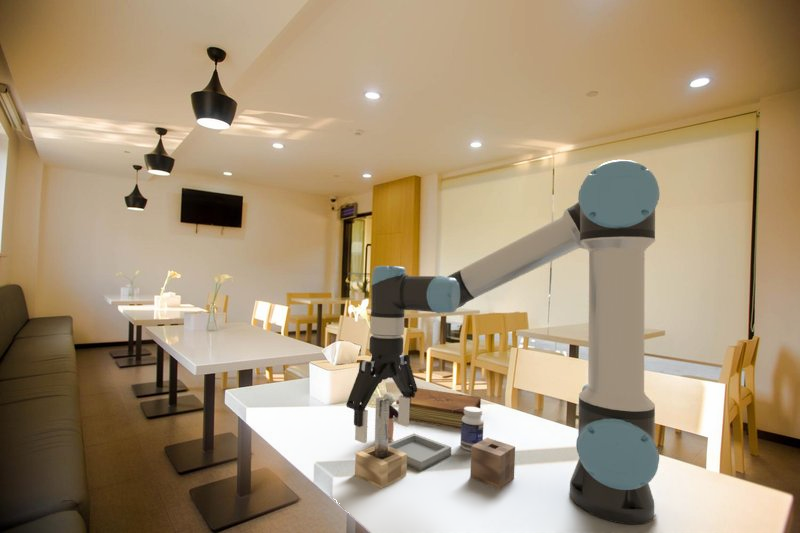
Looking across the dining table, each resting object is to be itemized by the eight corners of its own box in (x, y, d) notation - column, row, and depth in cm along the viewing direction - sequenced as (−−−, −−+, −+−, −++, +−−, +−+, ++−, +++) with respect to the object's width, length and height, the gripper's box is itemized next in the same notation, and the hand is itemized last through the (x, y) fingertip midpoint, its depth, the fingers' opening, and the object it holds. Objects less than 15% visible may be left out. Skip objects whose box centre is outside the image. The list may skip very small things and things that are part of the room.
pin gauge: (390, 472, 90) (392, 399, 91) (381, 477, 88) (382, 401, 89) (380, 468, 92) (382, 396, 93) (371, 472, 90) (373, 399, 91)
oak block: (406, 476, 91) (407, 453, 91) (381, 490, 85) (382, 465, 85) (380, 464, 96) (380, 443, 96) (354, 476, 90) (355, 453, 90)
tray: (451, 455, 102) (451, 447, 102) (421, 470, 93) (421, 461, 93) (413, 441, 110) (413, 433, 110) (382, 454, 101) (383, 446, 101)
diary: (480, 413, 137) (481, 396, 137) (468, 432, 120) (469, 412, 120) (415, 402, 145) (415, 386, 145) (395, 418, 128) (396, 400, 128)
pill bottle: (482, 453, 104) (484, 413, 104) (459, 450, 105) (461, 411, 105) (482, 444, 110) (483, 406, 110) (461, 441, 111) (462, 404, 111)
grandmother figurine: (370, 440, 109) (373, 392, 109) (376, 435, 113) (378, 389, 113) (398, 445, 106) (400, 396, 107) (403, 440, 110) (405, 392, 110)
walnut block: (514, 478, 92) (515, 446, 92) (499, 489, 86) (500, 456, 86) (486, 467, 96) (487, 437, 96) (470, 478, 91) (471, 446, 91)
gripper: (409, 329, 103) (406, 415, 102) (331, 338, 84) (327, 443, 84) (433, 333, 98) (431, 423, 97) (356, 343, 79) (352, 454, 79)
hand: (383, 432), depth 90 cm, fingers open, 13 cm apart
